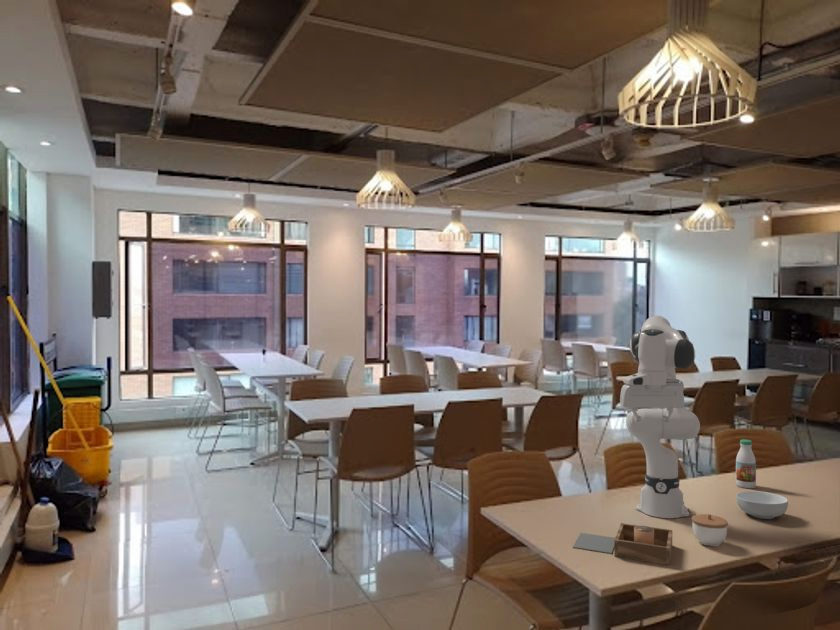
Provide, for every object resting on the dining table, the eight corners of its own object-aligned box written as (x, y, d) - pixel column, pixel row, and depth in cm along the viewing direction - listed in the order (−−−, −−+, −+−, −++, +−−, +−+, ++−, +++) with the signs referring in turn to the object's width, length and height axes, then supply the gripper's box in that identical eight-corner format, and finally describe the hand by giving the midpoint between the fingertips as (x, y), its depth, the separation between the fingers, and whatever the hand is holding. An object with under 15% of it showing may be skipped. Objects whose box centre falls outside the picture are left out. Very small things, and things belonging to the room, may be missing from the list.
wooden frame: (620, 537, 209) (620, 523, 209) (672, 545, 203) (672, 530, 203) (614, 556, 194) (614, 540, 194) (669, 564, 187) (669, 548, 187)
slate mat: (580, 533, 213) (580, 532, 213) (617, 538, 208) (617, 538, 208) (572, 547, 201) (572, 546, 201) (611, 553, 196) (611, 552, 196)
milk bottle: (731, 484, 274) (732, 438, 274) (748, 483, 275) (748, 438, 275) (742, 489, 266) (743, 442, 266) (759, 488, 267) (760, 441, 267)
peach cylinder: (634, 546, 202) (635, 524, 202) (654, 549, 200) (654, 527, 200) (633, 552, 197) (633, 530, 197) (653, 555, 194) (653, 533, 194)
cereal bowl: (763, 507, 242) (763, 489, 242) (799, 521, 226) (799, 501, 226) (726, 510, 238) (726, 492, 238) (759, 525, 222) (759, 505, 222)
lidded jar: (717, 536, 211) (717, 509, 210) (734, 549, 200) (734, 519, 200) (685, 537, 210) (685, 509, 210) (701, 549, 199) (701, 520, 199)
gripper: (679, 378, 208) (679, 419, 208) (618, 378, 207) (618, 419, 207) (688, 380, 201) (687, 423, 201) (625, 379, 201) (624, 422, 201)
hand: (651, 421), depth 204 cm, fingers open, 8 cm apart
